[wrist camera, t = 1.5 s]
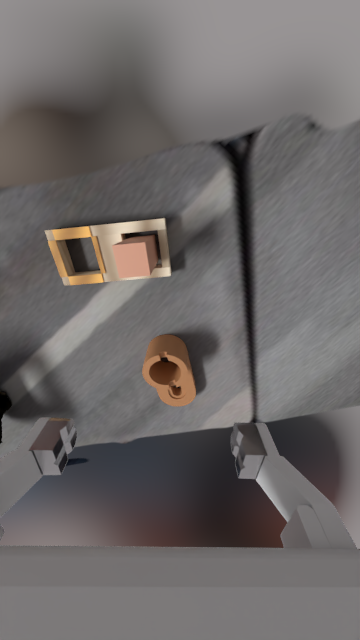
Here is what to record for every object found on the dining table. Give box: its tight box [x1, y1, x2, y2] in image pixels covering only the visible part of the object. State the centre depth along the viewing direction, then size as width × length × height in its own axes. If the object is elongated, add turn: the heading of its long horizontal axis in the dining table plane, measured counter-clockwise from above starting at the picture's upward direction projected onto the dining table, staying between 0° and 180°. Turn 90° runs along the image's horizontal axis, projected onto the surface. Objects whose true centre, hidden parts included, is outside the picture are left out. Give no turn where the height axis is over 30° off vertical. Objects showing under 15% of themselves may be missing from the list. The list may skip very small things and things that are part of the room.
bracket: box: [142, 334, 196, 406], centre depth 43 cm, size 18×8×7 cm, turn 12°
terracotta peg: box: [112, 235, 158, 278], centre depth 30 cm, size 4×4×10 cm
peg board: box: [45, 218, 172, 285], centre depth 33 cm, size 18×8×3 cm, turn 95°
